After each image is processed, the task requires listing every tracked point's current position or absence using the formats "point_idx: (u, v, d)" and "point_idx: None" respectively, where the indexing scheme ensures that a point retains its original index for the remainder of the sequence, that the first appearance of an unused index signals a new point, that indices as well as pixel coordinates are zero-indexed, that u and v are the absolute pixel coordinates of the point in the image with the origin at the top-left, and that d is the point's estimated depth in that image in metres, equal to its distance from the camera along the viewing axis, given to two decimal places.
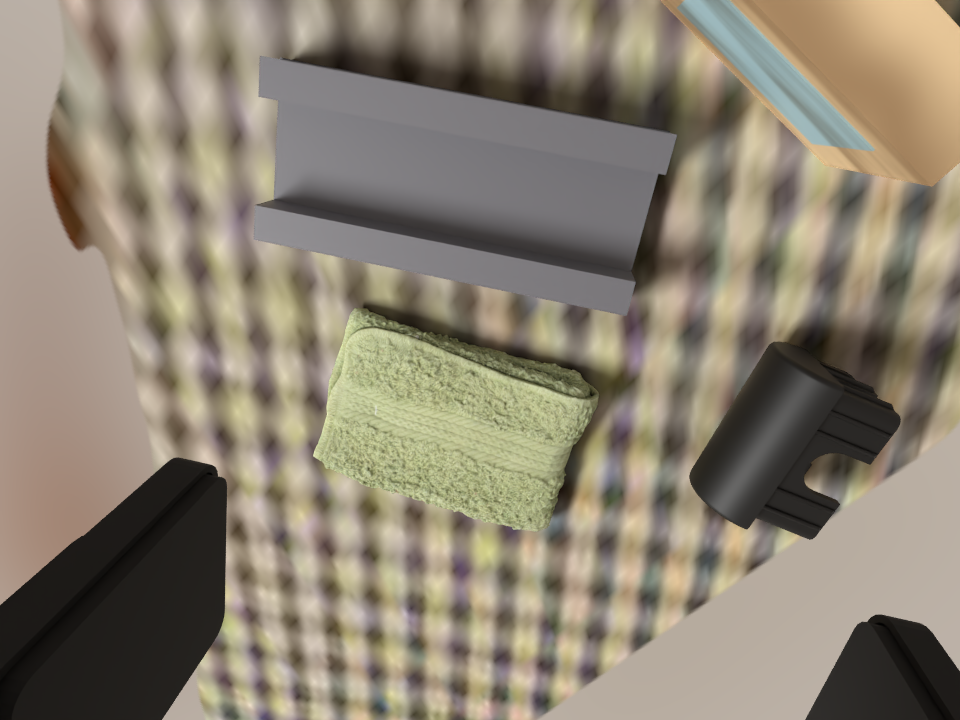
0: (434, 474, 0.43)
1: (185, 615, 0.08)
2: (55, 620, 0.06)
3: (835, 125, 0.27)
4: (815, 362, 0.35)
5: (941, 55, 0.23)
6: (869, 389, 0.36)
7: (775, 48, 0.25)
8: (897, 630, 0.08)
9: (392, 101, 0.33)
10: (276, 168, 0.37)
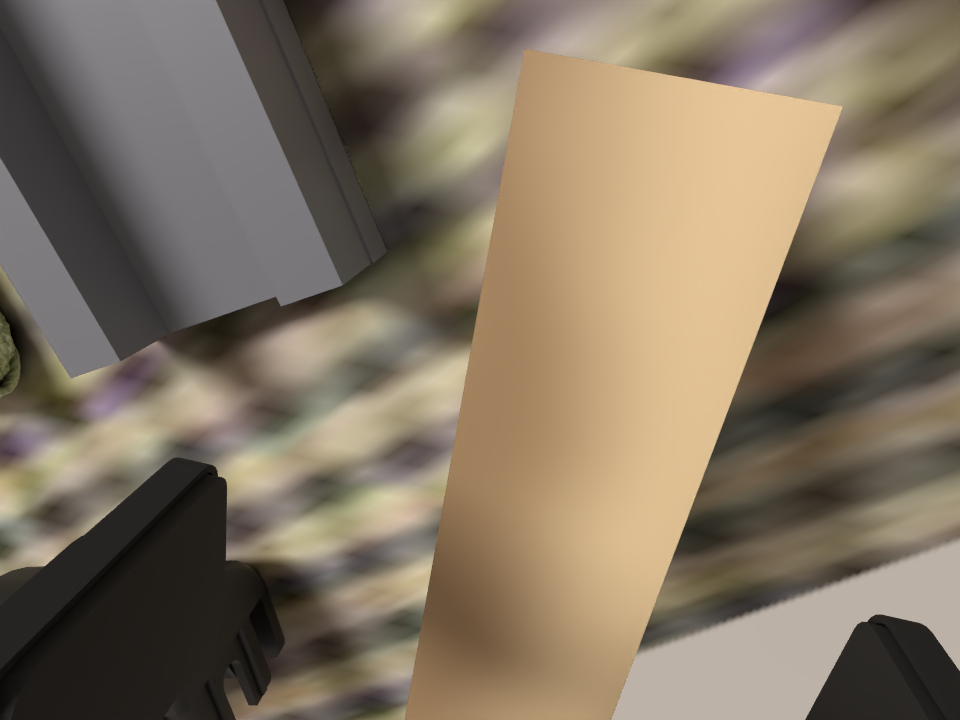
0: None
1: (185, 615, 0.08)
2: (55, 620, 0.06)
3: None
4: (231, 630, 0.24)
5: (574, 673, 0.12)
6: (260, 690, 0.26)
7: None
8: (897, 630, 0.08)
9: None
10: None
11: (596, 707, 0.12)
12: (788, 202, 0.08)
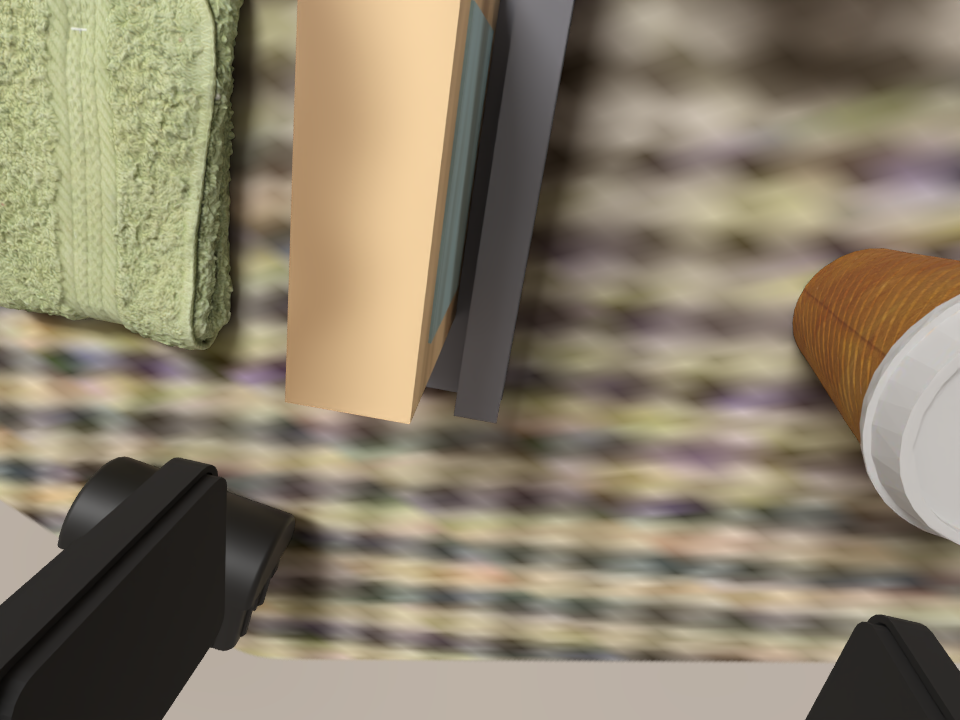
0: (7, 136, 0.27)
1: (185, 615, 0.08)
2: (55, 620, 0.06)
3: None
4: (276, 561, 0.34)
5: (390, 308, 0.18)
6: (260, 602, 0.36)
7: None
8: (897, 630, 0.08)
9: (532, 73, 0.23)
10: None
11: (408, 335, 0.18)
12: None
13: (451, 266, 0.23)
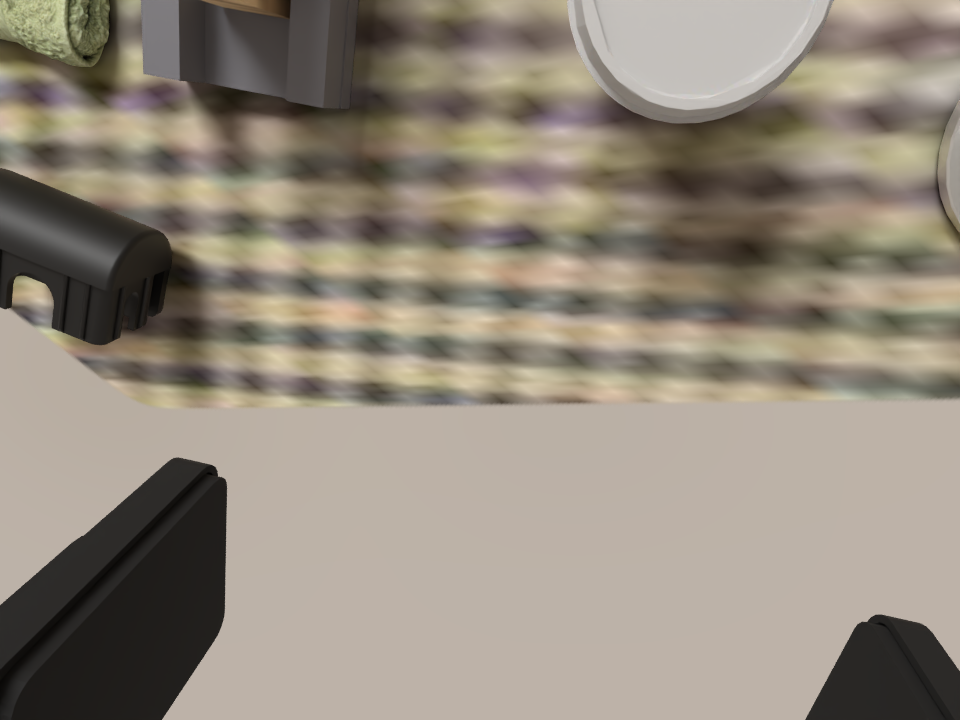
0: None
1: (185, 615, 0.08)
2: (55, 620, 0.06)
3: None
4: (147, 272, 0.38)
5: None
6: (138, 323, 0.40)
7: None
8: (897, 630, 0.08)
9: None
10: None
11: None
12: None
13: None
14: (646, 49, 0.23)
